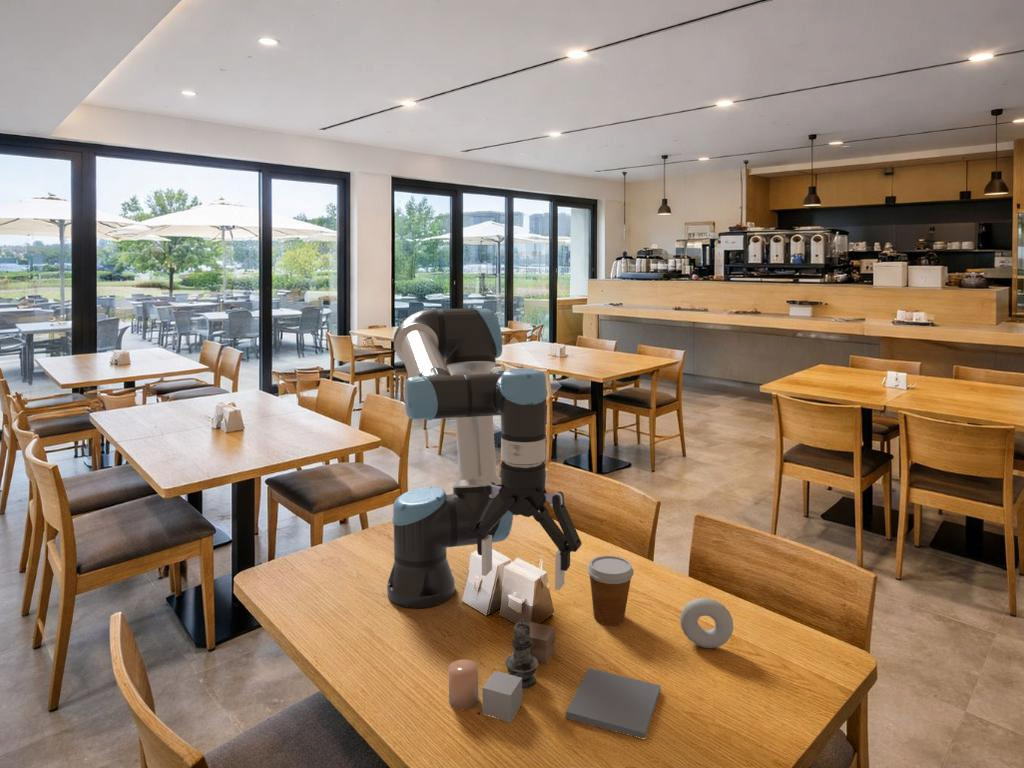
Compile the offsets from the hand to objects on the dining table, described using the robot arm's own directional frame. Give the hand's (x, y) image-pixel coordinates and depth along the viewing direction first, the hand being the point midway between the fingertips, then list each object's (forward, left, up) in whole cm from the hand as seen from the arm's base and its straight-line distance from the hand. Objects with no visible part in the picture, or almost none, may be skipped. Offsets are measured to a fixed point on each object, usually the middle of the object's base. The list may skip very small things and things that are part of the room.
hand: (522, 579), depth 115 cm
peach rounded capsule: (-7, -9, -19) cm, 23 cm away
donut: (+29, +24, -20) cm, 42 cm away
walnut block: (0, +9, -20) cm, 21 cm away
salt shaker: (0, 0, -20) cm, 20 cm away
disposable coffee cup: (+9, +27, -20) cm, 35 cm away
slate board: (+17, 0, -19) cm, 26 cm away
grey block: (0, -8, -20) cm, 21 cm away
